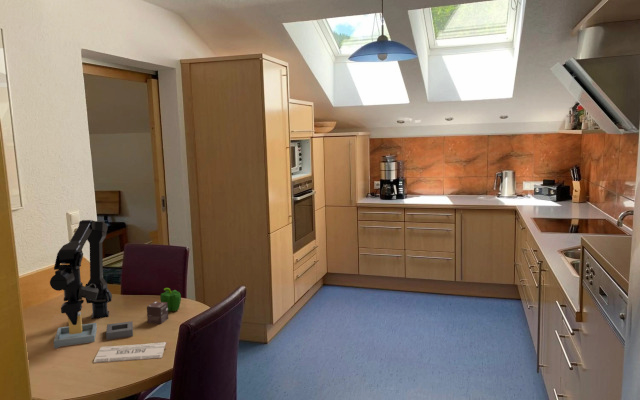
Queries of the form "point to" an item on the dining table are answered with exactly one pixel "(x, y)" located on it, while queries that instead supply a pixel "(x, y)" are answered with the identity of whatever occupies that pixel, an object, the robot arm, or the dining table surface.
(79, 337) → the parts tray
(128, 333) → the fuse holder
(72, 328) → the block
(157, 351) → the newspaper
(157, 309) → the box
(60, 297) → the dining table surface
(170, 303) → the bell pepper
